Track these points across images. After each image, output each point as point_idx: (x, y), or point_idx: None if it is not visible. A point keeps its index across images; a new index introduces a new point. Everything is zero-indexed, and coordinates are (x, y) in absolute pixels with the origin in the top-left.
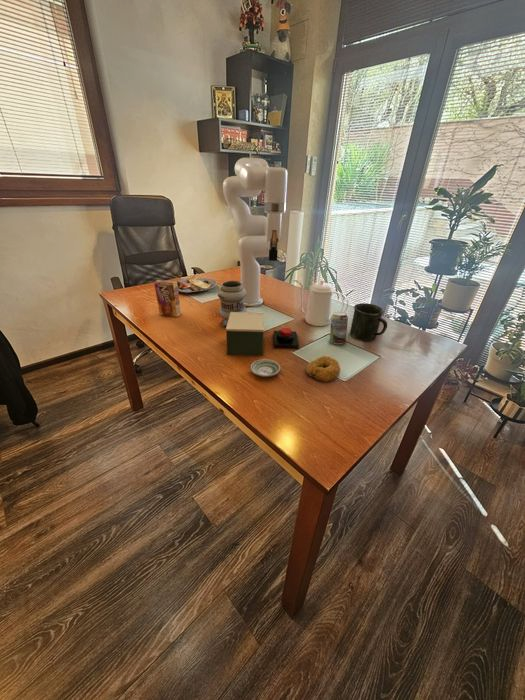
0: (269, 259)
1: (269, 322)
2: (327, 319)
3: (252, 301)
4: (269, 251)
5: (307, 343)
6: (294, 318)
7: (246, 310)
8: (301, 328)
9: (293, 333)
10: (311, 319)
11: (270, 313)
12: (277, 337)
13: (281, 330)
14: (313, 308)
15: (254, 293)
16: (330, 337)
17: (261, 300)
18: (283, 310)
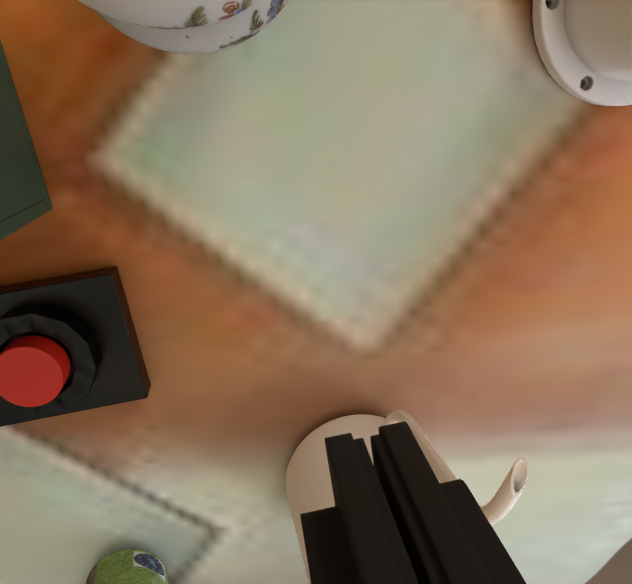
0: (328, 453)
1: (284, 211)
2: None
3: (575, 28)
4: (365, 580)
5: (73, 451)
6: (375, 351)
7: (201, 46)
8: (246, 403)
9: (52, 406)
10: (298, 468)
11: (428, 194)
12: (3, 315)
13: (13, 350)
14: None
15: (623, 37)
16: (110, 566)
17: (624, 94)
18: (487, 271)
